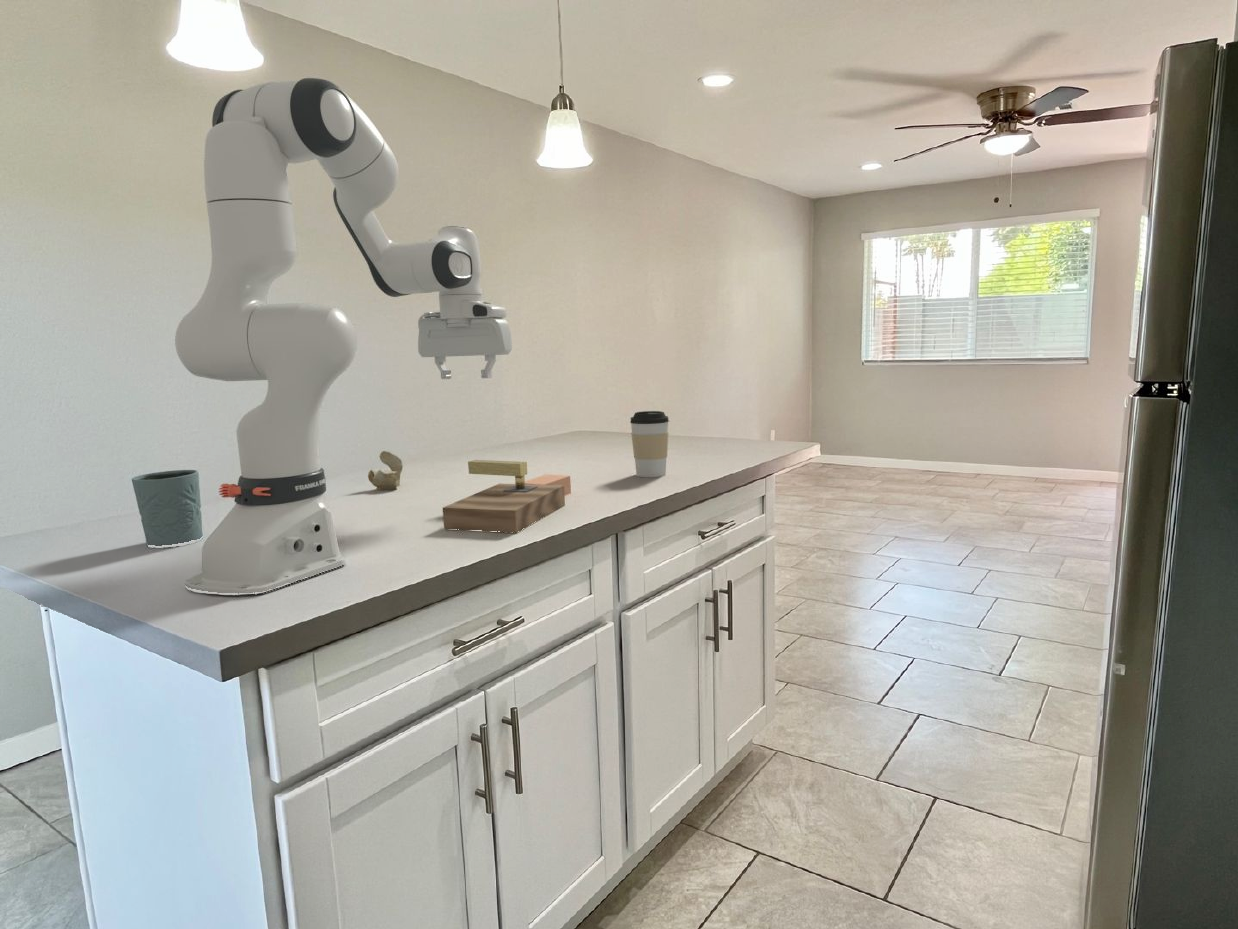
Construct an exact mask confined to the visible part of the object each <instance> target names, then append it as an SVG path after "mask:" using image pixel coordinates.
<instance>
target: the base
mask: <svg viewBox="0 0 1238 929" xmlns="http://www.w3.org/2000/svg"><path fill="white" fill-rule="evenodd" d="M565 496H566V495H564V485H536V484H525V488H516V484H515V483H498V484H495V485H493V486H491V487H488V488H485V489H483V490H481V491H479V492H476V493H474V494H472V495H469V496H467V497H465V498H463V499H460V500H457V501H454V502H452V503H450V504H448V505H446V506H445V505H444V506H443V507H442V519H443V530H444V529H457V530H458V529H459V530H482V531H497V532H498V531H500V532H513V533H512V534H518V533H519V532H518V531H520V530H522V529H523V528H525V529H527V528H528V526H529V525H530V526H532V525H533V524H532V523H534V522H535V521H537V522H539V521H540V519H541V518H542V519H544V518H545V516H546V515H547V516H549V515H551V514H553V513H554V512H556V511H557V510H559V509H562V508H563V507H565V505H566V501H565V498H566V497H565ZM547 516H546V517H547ZM543 517H544V518H543ZM542 519H541V520H542ZM538 520H539V521H538ZM535 523H536V522H535ZM535 523H534V524H535ZM531 524H532V525H531ZM530 526H529V527H530ZM526 527H527V528H526ZM457 530H456V531H457ZM523 530H524V529H523ZM523 530H522V531H523ZM497 532H496V533H497ZM517 532H518V533H517ZM520 532H521V531H520Z"/></svg>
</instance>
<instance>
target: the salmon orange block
mask: <svg viewBox="0 0 1238 929" xmlns="http://www.w3.org/2000/svg"><path fill="white" fill-rule="evenodd" d="M525 484H536V485H564V495H565V496H567V495H570V494H572V489H571V488H572V487H571V486H572V485H571V475H561V474H544V475H541V476H537V477H534V478H531V479H528V480H525Z"/></svg>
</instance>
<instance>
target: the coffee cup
mask: <svg viewBox="0 0 1238 929" xmlns="http://www.w3.org/2000/svg"><path fill="white" fill-rule="evenodd" d="M669 422H670V420H669V416H668V415H666V413H665V412H664V411H662V410H660V411H659V410H650V411H649V410H644V411H638V412H634V414H633V416H631V417H630V426H631V442H632V443H631V444H632V451H633V457H634V463H635V464H634V465H635V471H636V476H637V477H639V478H659V477H664V476H666V473H667V458H668V449H669V448H668V447H669V446H668V444H669Z"/></svg>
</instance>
